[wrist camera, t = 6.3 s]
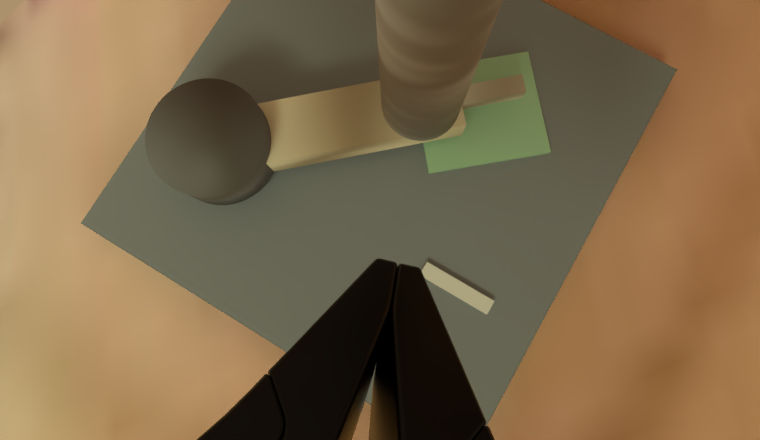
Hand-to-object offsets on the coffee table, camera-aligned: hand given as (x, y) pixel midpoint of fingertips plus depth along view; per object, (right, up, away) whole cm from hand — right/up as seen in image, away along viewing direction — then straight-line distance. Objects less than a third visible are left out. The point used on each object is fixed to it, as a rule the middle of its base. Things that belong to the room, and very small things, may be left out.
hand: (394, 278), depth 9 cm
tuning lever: (-2, +5, +10) cm, 11 cm away
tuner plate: (0, +4, +11) cm, 12 cm away
